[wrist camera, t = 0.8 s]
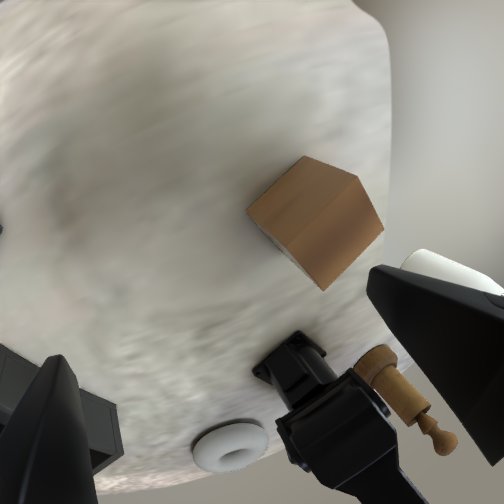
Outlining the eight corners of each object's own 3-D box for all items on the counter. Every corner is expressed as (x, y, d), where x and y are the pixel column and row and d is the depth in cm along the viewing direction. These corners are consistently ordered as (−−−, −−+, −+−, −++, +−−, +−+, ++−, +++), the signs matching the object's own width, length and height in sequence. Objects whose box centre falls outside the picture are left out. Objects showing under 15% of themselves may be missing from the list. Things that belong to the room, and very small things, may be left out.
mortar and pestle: (352, 386, 42) (427, 474, 27) (349, 364, 38) (436, 464, 23) (388, 360, 43) (465, 440, 28) (388, 336, 39) (478, 424, 24)
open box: (116, 404, 26) (124, 454, 21) (65, 449, 26) (70, 491, 22) (0, 343, 19) (-13, 397, 14) (-31, 403, 19) (-38, 448, 14)
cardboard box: (334, 200, 25) (384, 229, 20) (281, 252, 25) (323, 291, 20) (304, 155, 22) (358, 175, 17) (244, 211, 22) (284, 247, 18)
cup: (373, 297, 33) (449, 364, 24) (415, 227, 31) (503, 281, 21) (407, 310, 38) (470, 364, 28) (443, 252, 36) (513, 298, 26)
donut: (188, 462, 36) (255, 449, 40) (195, 482, 33) (264, 467, 37) (190, 425, 32) (270, 410, 36) (199, 449, 29) (282, 431, 33)
